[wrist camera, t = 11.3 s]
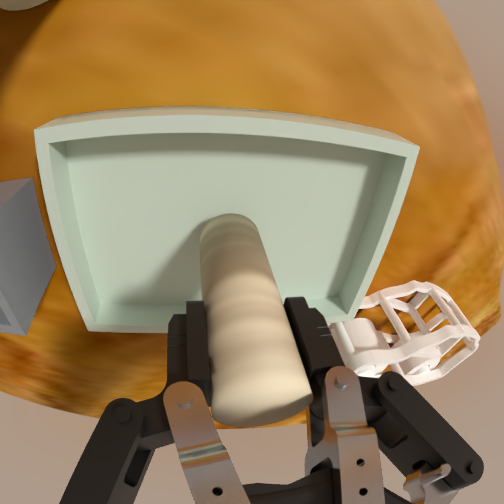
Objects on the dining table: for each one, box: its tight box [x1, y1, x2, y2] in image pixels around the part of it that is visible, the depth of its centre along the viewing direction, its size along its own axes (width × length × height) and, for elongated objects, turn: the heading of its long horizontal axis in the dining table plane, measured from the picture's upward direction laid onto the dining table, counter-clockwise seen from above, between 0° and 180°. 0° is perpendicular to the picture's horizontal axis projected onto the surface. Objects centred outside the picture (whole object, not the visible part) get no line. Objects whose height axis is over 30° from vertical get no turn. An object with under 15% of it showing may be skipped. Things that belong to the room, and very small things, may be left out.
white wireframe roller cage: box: [327, 280, 481, 386], centre depth 25 cm, size 20×11×7 cm, turn 62°
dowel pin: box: [199, 213, 313, 427], centre depth 13 cm, size 3×3×10 cm
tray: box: [34, 106, 420, 333], centre depth 17 cm, size 14×20×3 cm
